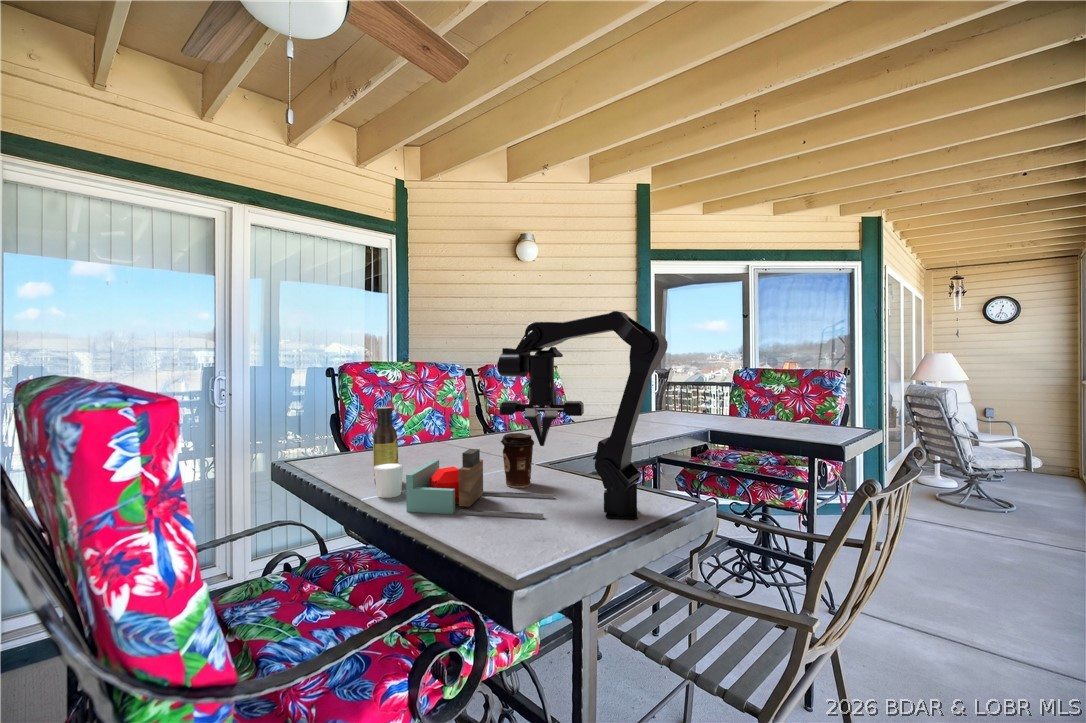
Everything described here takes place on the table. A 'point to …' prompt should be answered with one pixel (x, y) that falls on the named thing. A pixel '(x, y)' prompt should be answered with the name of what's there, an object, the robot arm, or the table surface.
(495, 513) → the track
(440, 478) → the ball
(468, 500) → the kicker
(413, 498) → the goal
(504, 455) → the coffee cup
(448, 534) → the table surface
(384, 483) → the white cup
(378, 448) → the sauce bottle
